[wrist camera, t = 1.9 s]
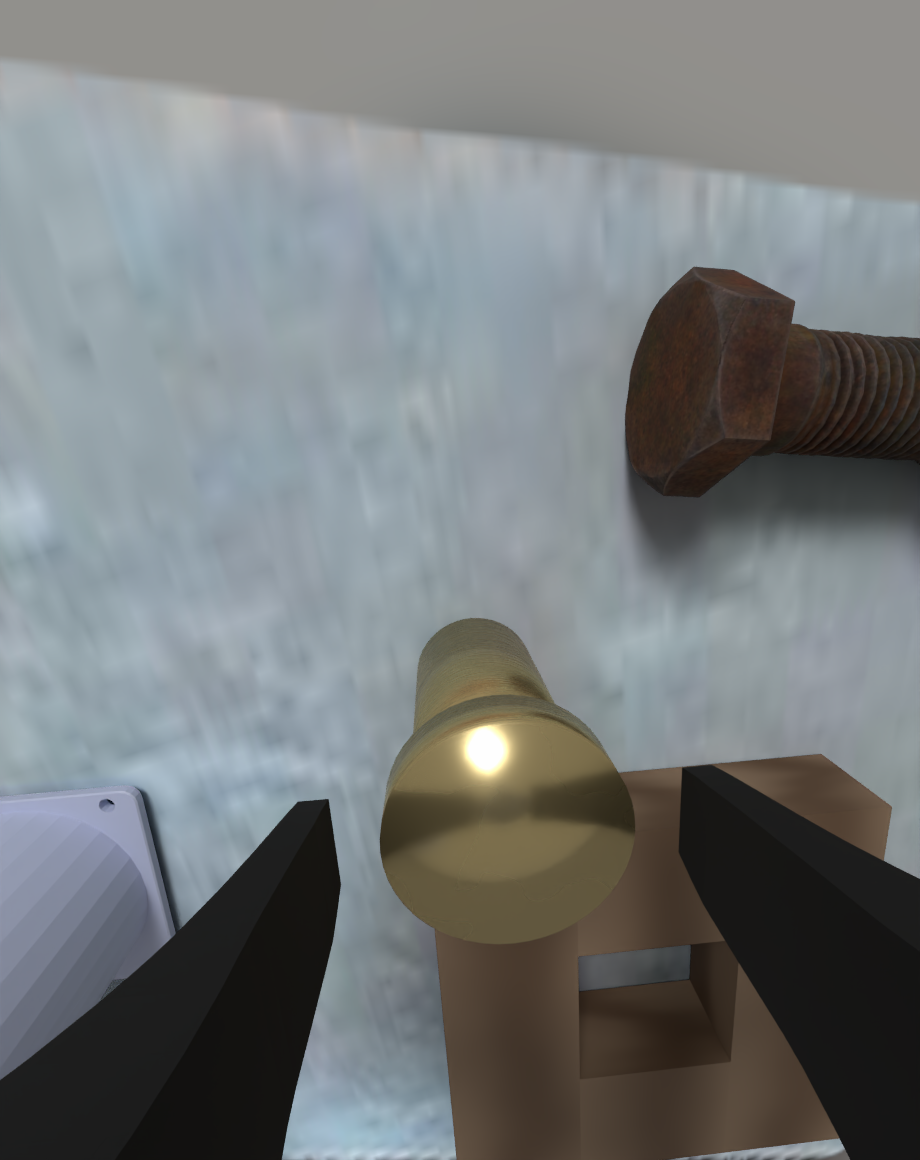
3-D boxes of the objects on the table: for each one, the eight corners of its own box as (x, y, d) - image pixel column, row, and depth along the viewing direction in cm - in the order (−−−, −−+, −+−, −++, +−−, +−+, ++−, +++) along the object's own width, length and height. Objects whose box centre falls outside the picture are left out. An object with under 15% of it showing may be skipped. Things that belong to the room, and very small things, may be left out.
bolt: (993, 446, 19) (607, 424, 17) (1126, 296, 15) (658, 253, 14) (1161, 544, 14) (667, 526, 13) (1396, 367, 11) (763, 315, 10)
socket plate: (455, 1088, 22) (459, 1185, 19) (428, 790, 18) (427, 851, 16) (787, 1050, 22) (840, 1138, 20) (821, 754, 19) (891, 806, 16)
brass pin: (409, 742, 18) (392, 956, 10) (396, 609, 17) (366, 736, 9) (547, 730, 18) (633, 931, 10) (543, 598, 17) (637, 712, 9)
